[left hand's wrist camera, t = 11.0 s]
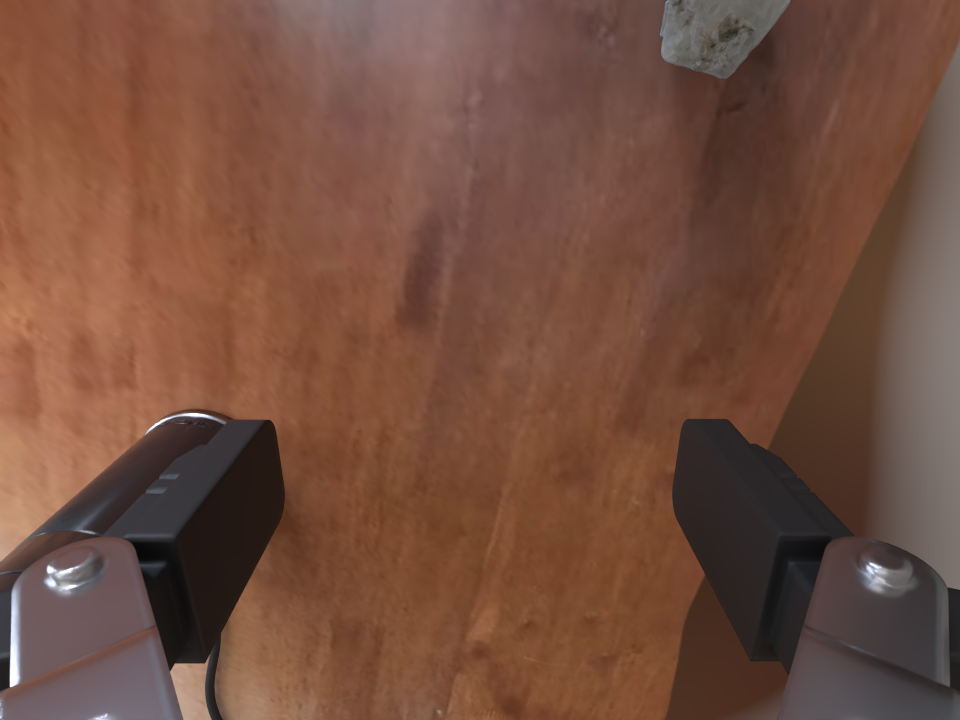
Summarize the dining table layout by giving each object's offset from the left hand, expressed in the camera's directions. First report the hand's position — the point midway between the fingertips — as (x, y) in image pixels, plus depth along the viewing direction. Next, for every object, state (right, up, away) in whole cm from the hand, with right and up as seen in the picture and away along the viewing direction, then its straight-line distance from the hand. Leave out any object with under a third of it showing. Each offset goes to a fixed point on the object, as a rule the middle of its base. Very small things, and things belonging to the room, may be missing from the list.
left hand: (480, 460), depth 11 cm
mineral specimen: (+12, +22, +22) cm, 34 cm away
